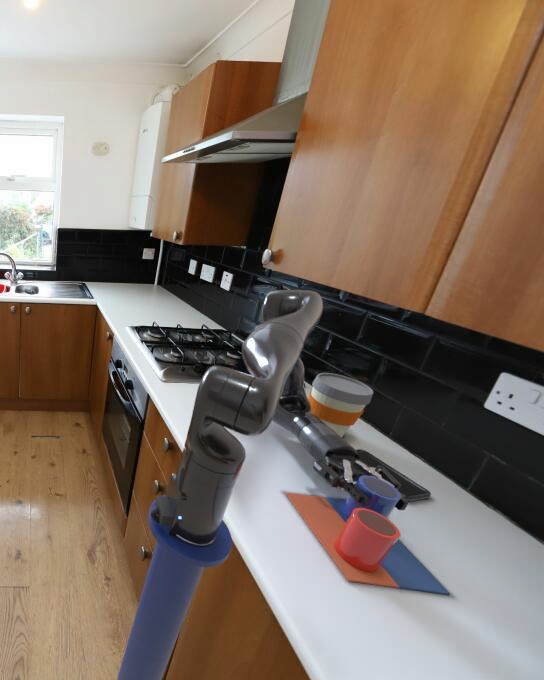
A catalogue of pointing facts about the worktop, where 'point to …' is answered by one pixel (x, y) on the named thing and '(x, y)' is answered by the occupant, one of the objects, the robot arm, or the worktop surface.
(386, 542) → the red beaker
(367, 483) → the blue beaker
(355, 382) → the reusable coffee cup
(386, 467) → the phone
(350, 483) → the robot arm
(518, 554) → the worktop surface
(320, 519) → the sorting mat
